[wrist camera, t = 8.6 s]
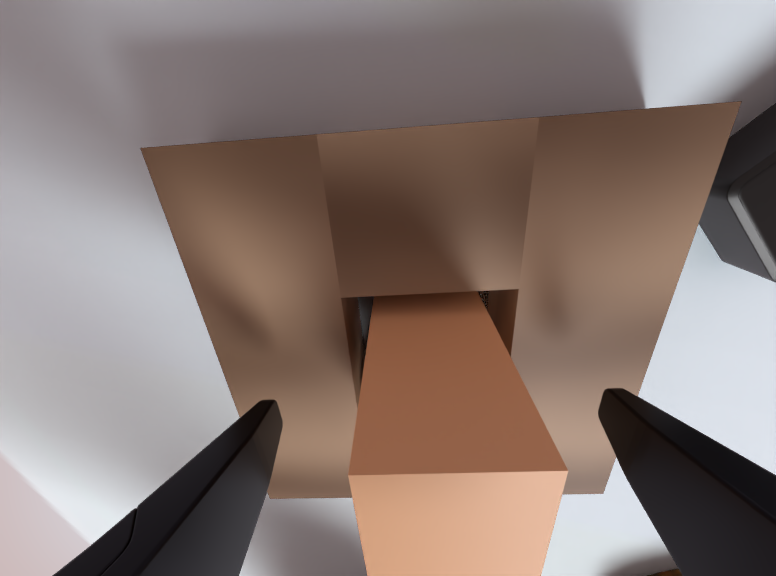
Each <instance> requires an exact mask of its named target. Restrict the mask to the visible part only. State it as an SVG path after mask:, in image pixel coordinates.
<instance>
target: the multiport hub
mask: <svg viewBox="0 0 776 576" xmlns="http://www.w3.org/2000/svg"><path fill="white" fill-rule="evenodd" d="M699 225H700V226H701V228H702V229H703V231H704V233H705V234H706V236H707V238H708V239H709V241H710V242H711V244H712V246H713V247H714V249H715V250H716V252H717V254H718V255H719V257H720V258H721V260H722V261H724V262H726V263H728V264H731V265H733V266H736V267H738V268H741V269H743V270H746V271H748V272H751V273H753V274H756V275H758V276H761V277H764V278H766V279H769V280H771V281H774V282H776V103H775V104H774V105H773V106H771V107H770V108H769V109H767V110H766V111H765V112H763V113H762V114H761V115H759V116H758V117H757V118H755V119H754V120H753V121H751V122H750V123H749V124H747V125H746V126H745V127H743V128H742V129H741V130H739V131H738V132H737V133H735V134H734V135H733V136H731V137H730V138H729V139H728V141H727V144H726V147H725V150H724V153H723V156H722V158H721V161H720V164H719V167H718V170H717V173H716V175H715V178H714V181H713V184H712V187H711V190H710V192H709V195H708V198H707V201H706V204H705V207H704V209H703V212H702V215H701V218H700V221H699Z"/></svg>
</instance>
